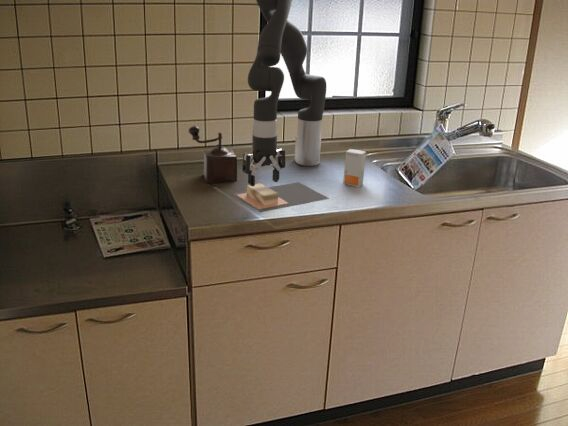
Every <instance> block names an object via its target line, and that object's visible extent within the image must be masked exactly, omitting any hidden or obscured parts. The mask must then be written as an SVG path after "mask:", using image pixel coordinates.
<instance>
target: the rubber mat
mask: <svg viewBox="0 0 568 426" xmlns="http://www.w3.org/2000/svg"><path fill="white" fill-rule="evenodd" d="M267 187H268V186H267ZM268 188H270V189H271V190H273V191H275V192H277V193H278V203H276V204H271V205H266V206H264V205H262V204H261V203H259V202H258V201H256V200H254V199H253V198H251V197H250V196H248V195H247V190H244V191H239V192H233V193H232V195H233V196H234V197H237V198H238V199H239V200H241V201H242V202H244V203H246V204H247V205H248V206H250V207H252V208H253V209H255V210H257V211H258V212H259V213H264V212H268V211H269V212H270V211H274V210H279V209H284V208H289V207H294V206H298V205H304V204H310V203H315V202H318V201H324V200H329V199H330V198H329V197H328V196H326V195H324V194H322V193H320V192H318V191H316V190H315V189H312V188H311V187H309V186H307V185H305V184H303V183H301V182H299V181H297V182H291V183H286V184H279V185H274V186H269V187H268Z"/></svg>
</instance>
